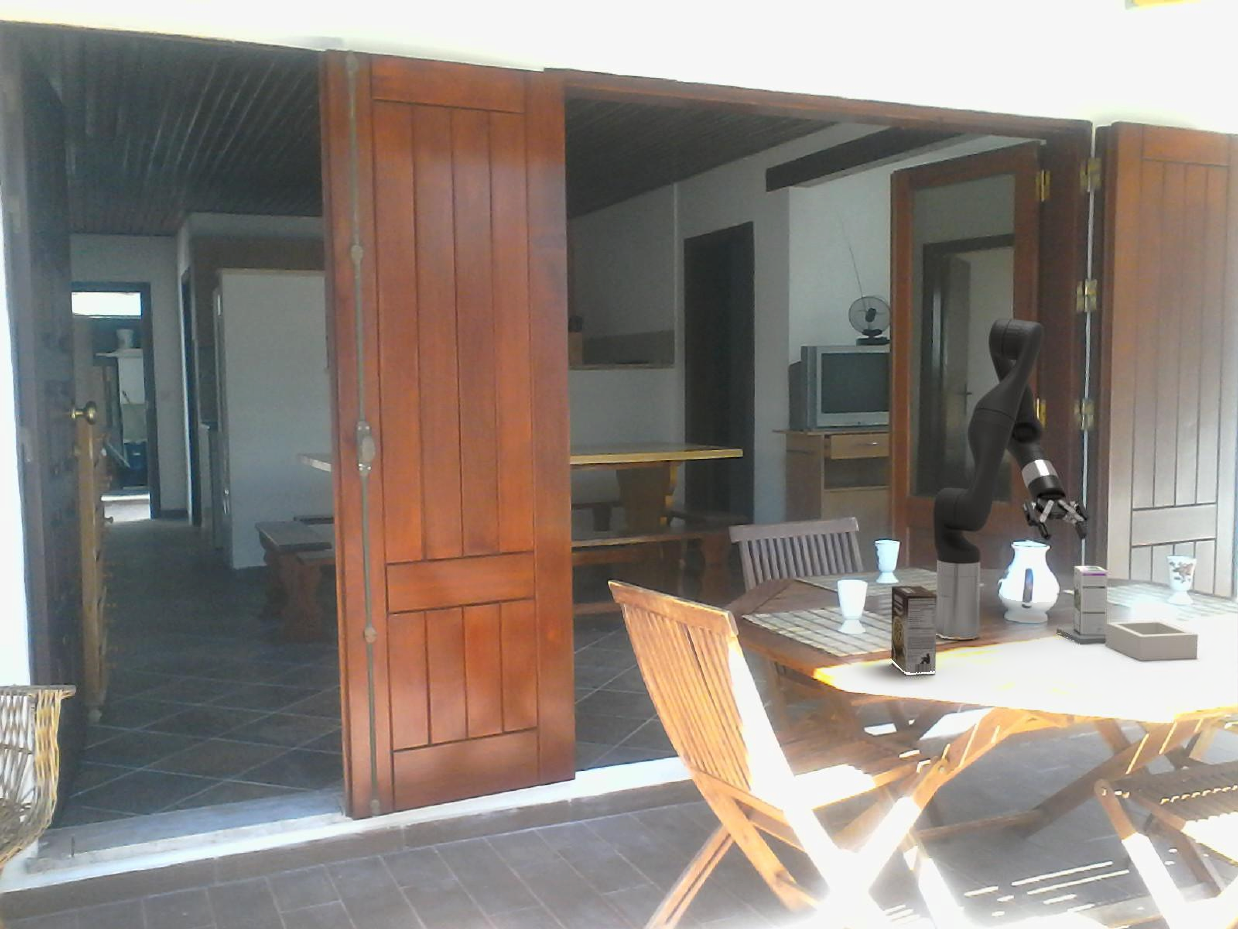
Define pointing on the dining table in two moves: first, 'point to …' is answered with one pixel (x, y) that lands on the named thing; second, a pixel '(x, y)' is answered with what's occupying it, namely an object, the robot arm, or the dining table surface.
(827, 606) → the dining table surface
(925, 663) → the coffee box
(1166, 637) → the open rectangular tray
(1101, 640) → the tile
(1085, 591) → the syrup box
